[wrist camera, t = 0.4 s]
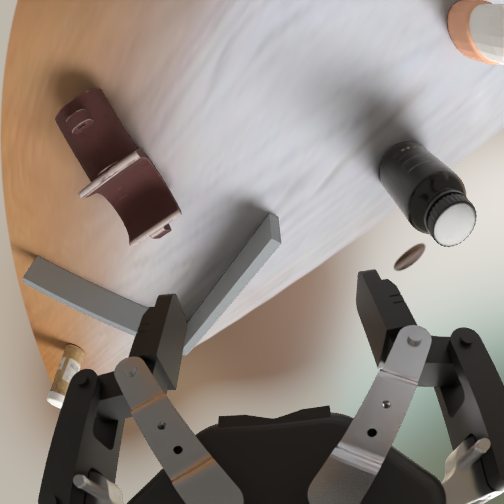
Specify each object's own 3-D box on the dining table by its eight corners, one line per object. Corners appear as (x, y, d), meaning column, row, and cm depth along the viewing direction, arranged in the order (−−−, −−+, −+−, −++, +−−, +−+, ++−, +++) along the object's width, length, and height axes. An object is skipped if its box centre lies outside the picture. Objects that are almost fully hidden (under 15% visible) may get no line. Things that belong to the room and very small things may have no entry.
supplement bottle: (432, 184, 33) (482, 244, 24) (383, 200, 35) (423, 266, 26) (425, 132, 29) (486, 182, 20) (372, 148, 31) (419, 204, 22)
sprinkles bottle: (62, 342, 55) (42, 396, 44) (80, 344, 55) (60, 401, 44) (71, 354, 58) (53, 407, 47) (88, 357, 58) (71, 412, 47)
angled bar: (65, 112, 28) (41, 126, 24) (278, 217, 37) (281, 243, 33) (37, 260, 41) (22, 282, 37) (190, 330, 50) (186, 355, 46)
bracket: (144, 245, 36) (134, 276, 27) (70, 127, 30) (35, 119, 21) (187, 217, 36) (191, 238, 27) (113, 96, 30) (91, 75, 21)
